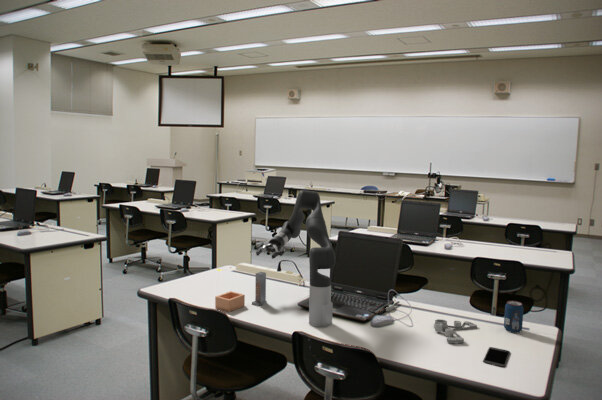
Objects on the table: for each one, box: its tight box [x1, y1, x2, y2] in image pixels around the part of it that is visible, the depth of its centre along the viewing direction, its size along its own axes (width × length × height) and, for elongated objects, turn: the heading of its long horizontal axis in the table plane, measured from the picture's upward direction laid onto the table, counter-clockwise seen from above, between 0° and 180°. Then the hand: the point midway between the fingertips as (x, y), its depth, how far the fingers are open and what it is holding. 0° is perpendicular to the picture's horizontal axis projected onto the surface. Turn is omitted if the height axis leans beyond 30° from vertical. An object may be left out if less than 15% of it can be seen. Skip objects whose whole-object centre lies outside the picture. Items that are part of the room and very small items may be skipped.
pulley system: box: [433, 318, 478, 344], centre depth 180 cm, size 27×5×15 cm
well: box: [214, 290, 246, 313], centre depth 204 cm, size 9×10×6 cm
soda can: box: [503, 300, 524, 334], centre depth 181 cm, size 7×7×12 cm
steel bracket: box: [251, 271, 268, 307], centre depth 209 cm, size 4×6×15 cm
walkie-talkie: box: [379, 300, 400, 315], centre depth 207 cm, size 9×4×20 cm
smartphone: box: [482, 346, 511, 369], centre depth 157 cm, size 7×15×1 cm, turn 148°
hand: (264, 255), depth 214 cm, fingers open, 8 cm apart
